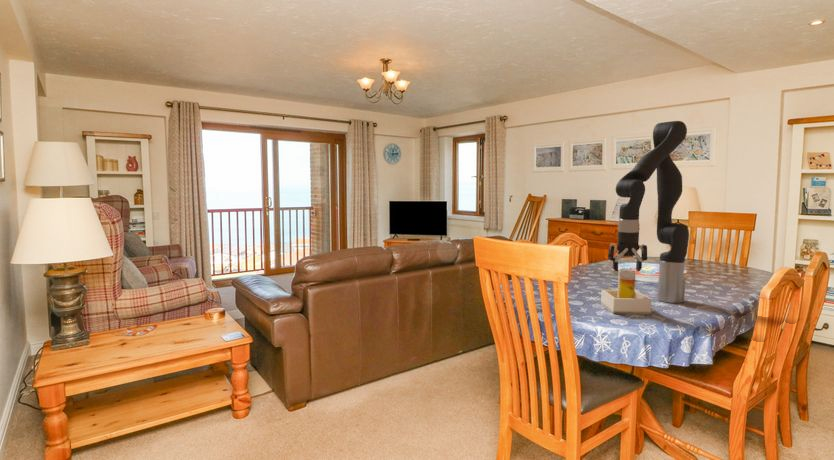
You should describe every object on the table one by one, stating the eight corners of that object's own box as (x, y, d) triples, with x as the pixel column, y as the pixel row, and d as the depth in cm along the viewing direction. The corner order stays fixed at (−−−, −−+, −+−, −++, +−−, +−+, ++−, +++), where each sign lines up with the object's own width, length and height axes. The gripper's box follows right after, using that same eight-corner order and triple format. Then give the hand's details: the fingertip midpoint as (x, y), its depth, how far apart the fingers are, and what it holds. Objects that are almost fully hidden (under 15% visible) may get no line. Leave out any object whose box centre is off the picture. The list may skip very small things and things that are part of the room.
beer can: (635, 309, 178) (637, 271, 176) (618, 308, 179) (620, 271, 177) (631, 304, 184) (633, 268, 182) (615, 304, 185) (617, 268, 183)
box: (635, 304, 188) (636, 290, 187) (650, 314, 174) (651, 299, 174) (600, 303, 189) (601, 289, 188) (613, 313, 175) (613, 298, 175)
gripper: (643, 229, 181) (641, 268, 183) (606, 229, 182) (605, 269, 184) (651, 231, 174) (649, 272, 176) (613, 231, 175) (611, 273, 177)
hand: (626, 270), depth 180 cm, fingers open, 8 cm apart
